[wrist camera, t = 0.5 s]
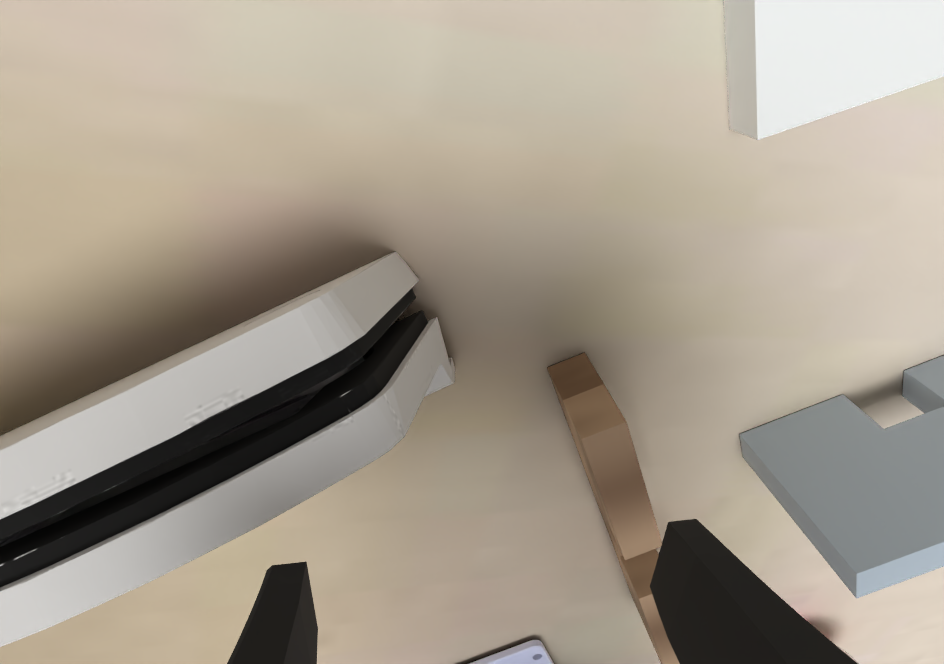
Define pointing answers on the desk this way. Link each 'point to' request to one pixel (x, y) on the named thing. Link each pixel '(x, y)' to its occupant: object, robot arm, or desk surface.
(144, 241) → the desk surface
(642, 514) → the walnut plate
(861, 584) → the upright grey panel
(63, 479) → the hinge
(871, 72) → the mounting plate
